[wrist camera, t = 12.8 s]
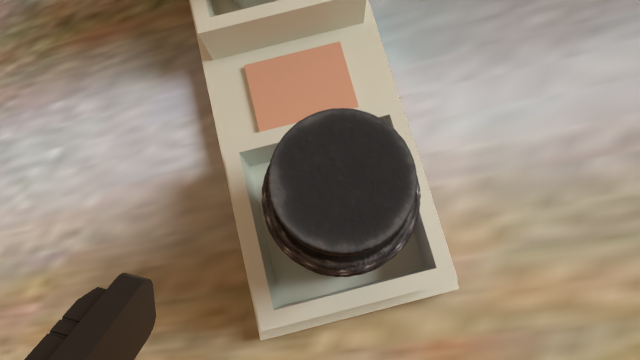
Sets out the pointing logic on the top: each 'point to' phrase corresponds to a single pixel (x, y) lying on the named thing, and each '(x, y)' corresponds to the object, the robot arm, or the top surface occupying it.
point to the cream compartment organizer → (278, 118)
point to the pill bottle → (341, 193)
